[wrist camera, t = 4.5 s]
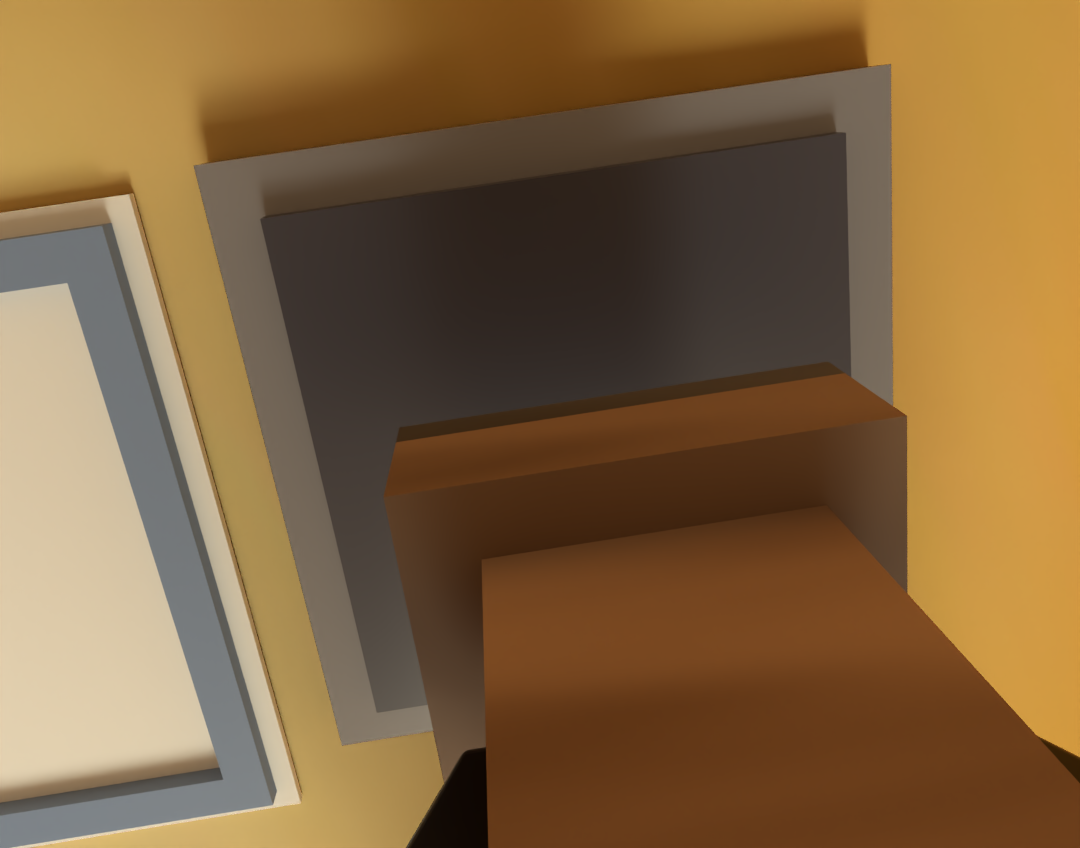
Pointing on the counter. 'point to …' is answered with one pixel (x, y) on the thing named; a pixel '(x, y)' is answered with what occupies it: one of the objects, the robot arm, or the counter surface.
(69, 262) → the marked sheet
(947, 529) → the counter surface
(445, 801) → the robot arm
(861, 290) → the ink pad
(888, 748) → the stamp
